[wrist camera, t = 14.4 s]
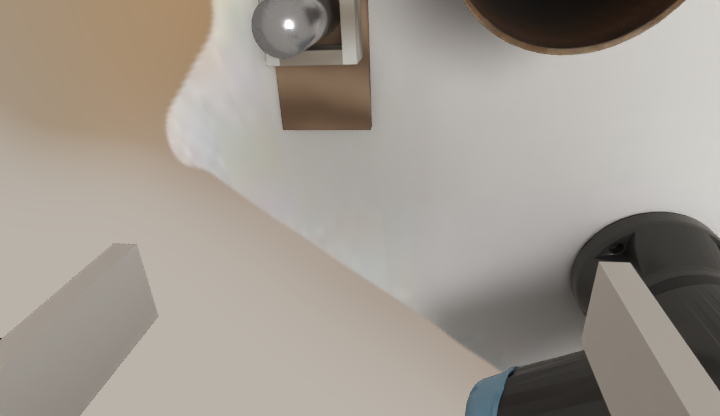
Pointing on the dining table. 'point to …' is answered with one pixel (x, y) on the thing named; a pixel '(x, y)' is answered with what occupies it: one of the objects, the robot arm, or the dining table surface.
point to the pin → (293, 25)
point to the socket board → (329, 77)
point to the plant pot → (569, 22)
